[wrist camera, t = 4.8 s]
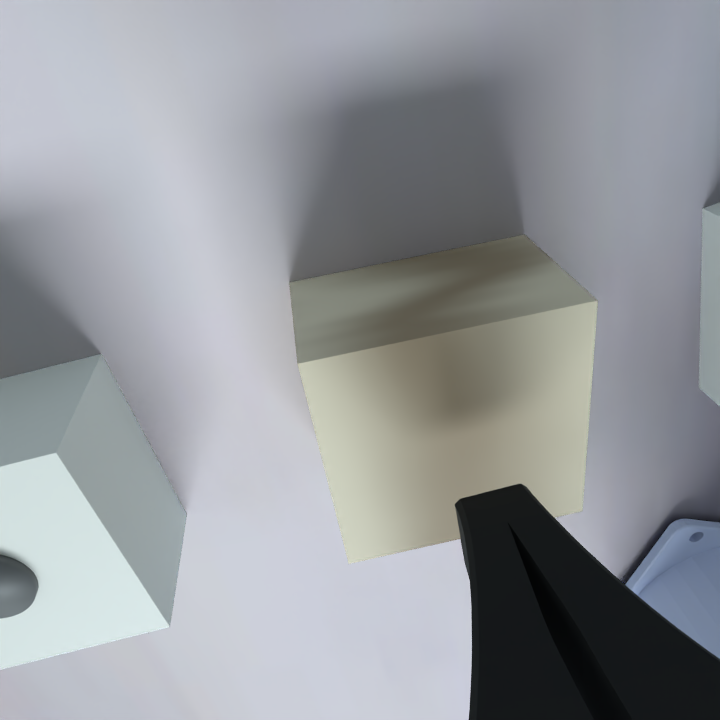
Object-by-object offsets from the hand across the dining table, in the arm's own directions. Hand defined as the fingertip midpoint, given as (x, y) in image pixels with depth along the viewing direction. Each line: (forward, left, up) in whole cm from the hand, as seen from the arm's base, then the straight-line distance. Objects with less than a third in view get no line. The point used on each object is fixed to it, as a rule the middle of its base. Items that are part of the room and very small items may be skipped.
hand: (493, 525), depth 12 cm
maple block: (0, 0, -6) cm, 6 cm away
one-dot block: (+10, +5, -6) cm, 12 cm away
